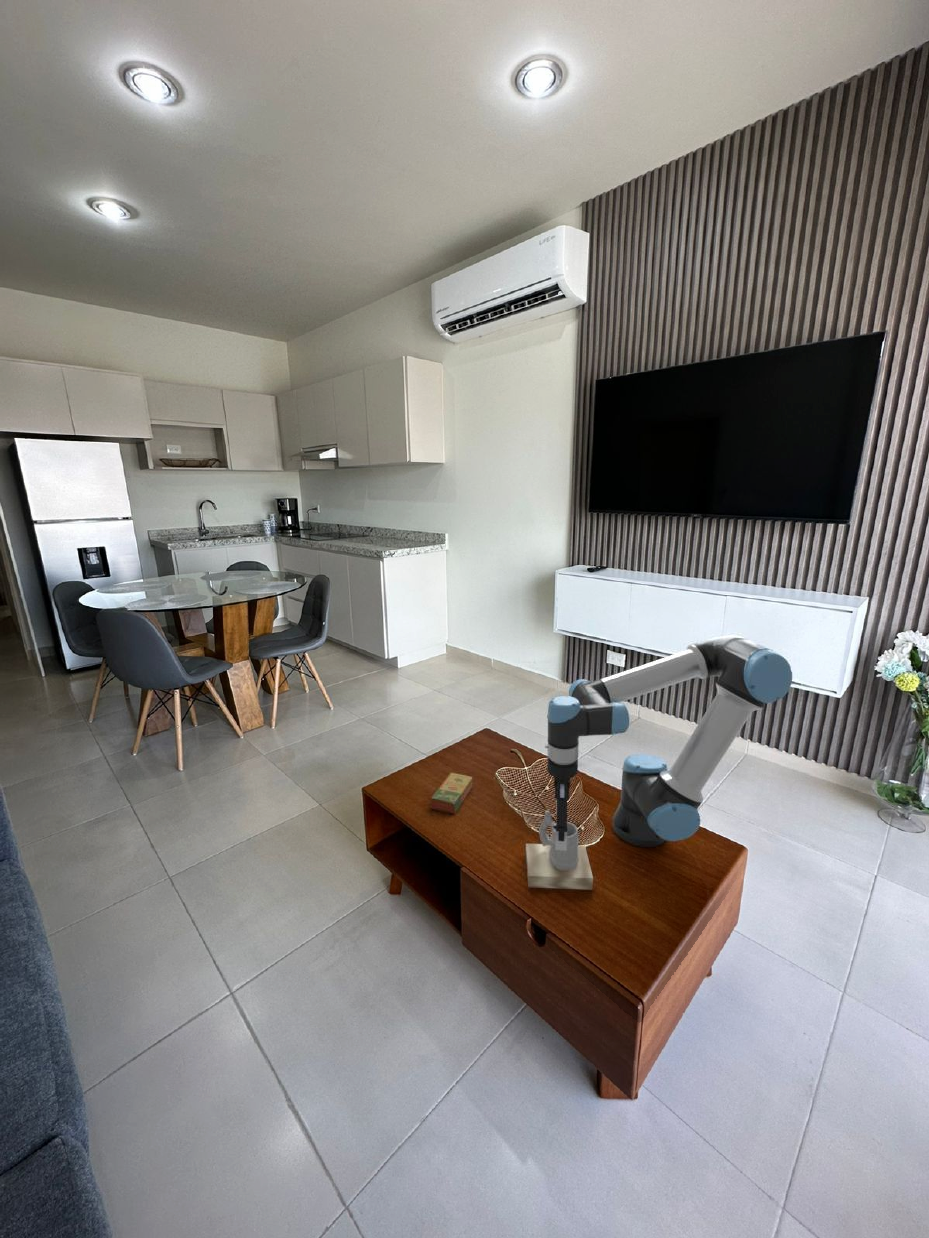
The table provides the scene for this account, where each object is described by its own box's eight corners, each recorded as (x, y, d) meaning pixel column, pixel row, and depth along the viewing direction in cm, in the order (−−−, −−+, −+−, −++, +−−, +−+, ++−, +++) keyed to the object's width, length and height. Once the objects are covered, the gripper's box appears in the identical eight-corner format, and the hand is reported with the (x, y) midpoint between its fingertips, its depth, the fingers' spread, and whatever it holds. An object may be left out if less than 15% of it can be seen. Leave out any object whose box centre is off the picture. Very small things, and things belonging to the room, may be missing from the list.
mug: (567, 876, 127) (569, 835, 124) (530, 852, 136) (531, 813, 133) (584, 861, 133) (587, 821, 129) (548, 839, 141) (549, 801, 138)
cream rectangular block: (584, 857, 140) (584, 845, 139) (592, 891, 128) (593, 878, 127) (525, 855, 140) (525, 843, 139) (528, 889, 129) (528, 875, 128)
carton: (473, 787, 172) (473, 776, 171) (454, 815, 158) (454, 803, 157) (450, 782, 175) (450, 771, 174) (430, 809, 161) (430, 797, 160)
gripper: (548, 733, 139) (547, 801, 144) (545, 784, 115) (544, 864, 120) (576, 734, 137) (574, 803, 143) (579, 787, 114) (577, 867, 119)
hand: (561, 831), depth 132 cm, fingers open, 13 cm apart
